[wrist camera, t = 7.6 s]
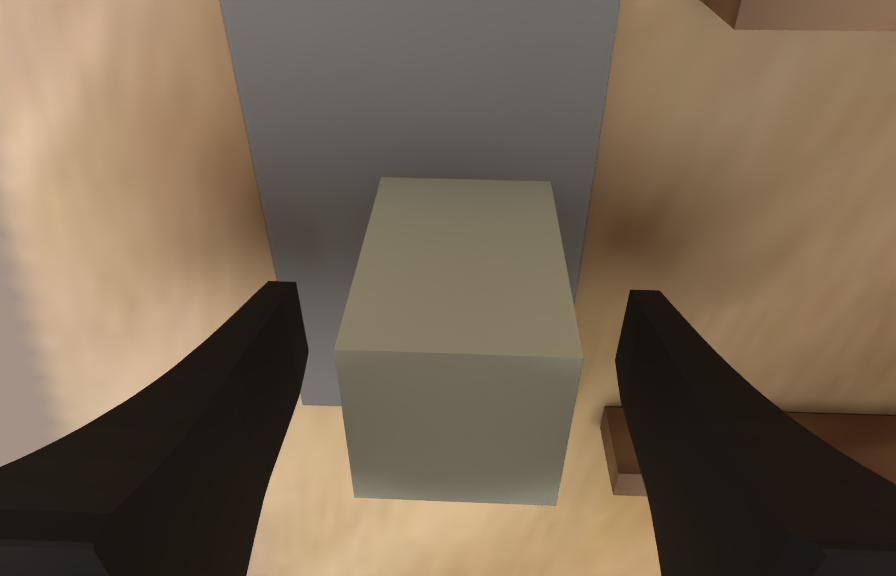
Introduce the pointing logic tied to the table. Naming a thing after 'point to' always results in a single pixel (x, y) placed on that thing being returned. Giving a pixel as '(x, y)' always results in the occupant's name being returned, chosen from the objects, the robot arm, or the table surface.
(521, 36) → the mat
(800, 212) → the table surface
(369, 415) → the sage block
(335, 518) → the table surface
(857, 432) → the open side box
